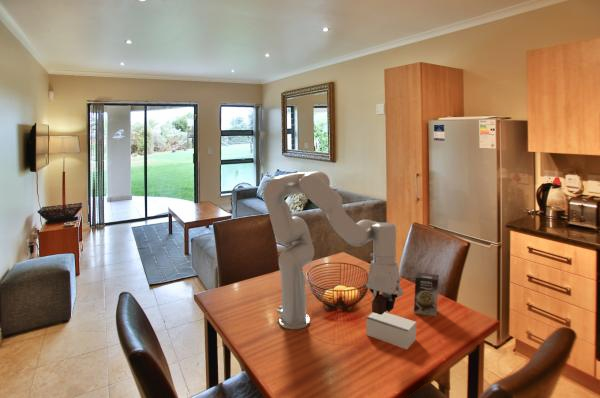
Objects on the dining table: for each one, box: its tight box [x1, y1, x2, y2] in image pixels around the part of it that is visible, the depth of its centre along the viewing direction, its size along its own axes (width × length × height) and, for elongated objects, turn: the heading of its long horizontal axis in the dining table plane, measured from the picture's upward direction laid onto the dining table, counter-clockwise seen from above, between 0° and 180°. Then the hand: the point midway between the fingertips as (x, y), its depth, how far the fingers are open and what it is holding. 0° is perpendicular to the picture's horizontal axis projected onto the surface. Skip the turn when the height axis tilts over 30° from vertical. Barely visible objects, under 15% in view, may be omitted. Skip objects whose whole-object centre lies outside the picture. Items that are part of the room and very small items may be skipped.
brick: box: [371, 292, 396, 315], centre depth 127 cm, size 11×4×5 cm, turn 141°
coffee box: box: [413, 272, 439, 317], centre depth 152 cm, size 9×6×16 cm
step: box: [365, 311, 417, 350], centre depth 134 cm, size 16×8×7 cm, turn 51°
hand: (383, 307), depth 128 cm, fingers closed on brick, 4 cm apart
